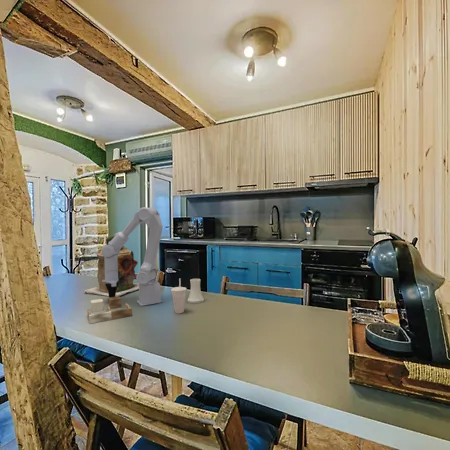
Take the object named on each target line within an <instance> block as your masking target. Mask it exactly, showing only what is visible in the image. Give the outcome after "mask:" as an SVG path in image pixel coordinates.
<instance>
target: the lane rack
mask: <svg viewBox="0 0 450 450" xmlns="http://www.w3.org/2000/svg"><path fill="white" fill-rule="evenodd" d="M124 305H125V306H124V307H125V308H123V309H117V310H112V309H110V307H109V305H108V306H106V311H105V312H104V311H103V312H99V313H95V314H93V313H92V311H91V308H89V309H87V310H86V311H87V319H88V324H90V325H92V324H95V323H97V324H98V323H101V322H107V321H112V320H117V319H122V318H127V317H132V316H133V308H132V307H131V306H130V305H129V304H128V303H127V302H126V303H124Z"/></svg>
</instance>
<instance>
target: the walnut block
mask: <svg viewBox="0 0 450 450" xmlns="http://www.w3.org/2000/svg"><path fill="white" fill-rule="evenodd" d="M108 306H109V307H110V309H111V310H114V309H118V308H122V298H121V295H120V296H117V297H110V298H109V297H108Z"/></svg>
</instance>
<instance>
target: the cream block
mask: <svg viewBox="0 0 450 450" xmlns="http://www.w3.org/2000/svg"><path fill="white" fill-rule="evenodd" d="M101 311H103V312H104V300H103V299H102V298H98V299H92V300H90V312H91V313H95V312H101Z"/></svg>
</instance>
